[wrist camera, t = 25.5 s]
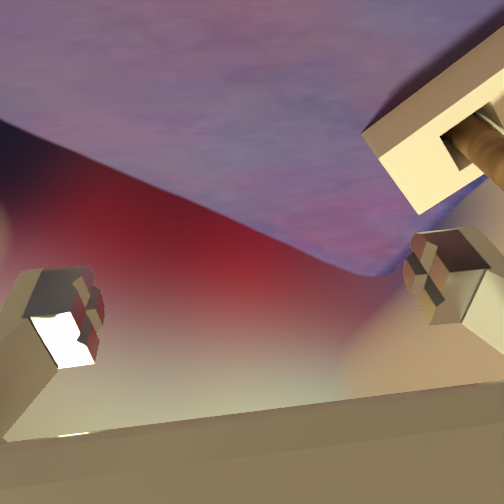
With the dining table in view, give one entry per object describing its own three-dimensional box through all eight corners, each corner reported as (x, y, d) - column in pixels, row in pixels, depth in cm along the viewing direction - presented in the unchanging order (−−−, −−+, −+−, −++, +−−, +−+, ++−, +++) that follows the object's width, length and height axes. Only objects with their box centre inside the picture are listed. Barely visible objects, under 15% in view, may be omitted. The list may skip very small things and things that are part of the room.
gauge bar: (360, 134, 44) (378, 158, 39) (506, 23, 38) (547, 36, 33) (398, 187, 48) (418, 215, 44) (533, 96, 42) (573, 116, 38)
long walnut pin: (438, 101, 42) (525, 168, 30) (466, 102, 42) (564, 169, 31) (427, 131, 44) (505, 204, 32) (455, 132, 44) (542, 204, 33)
